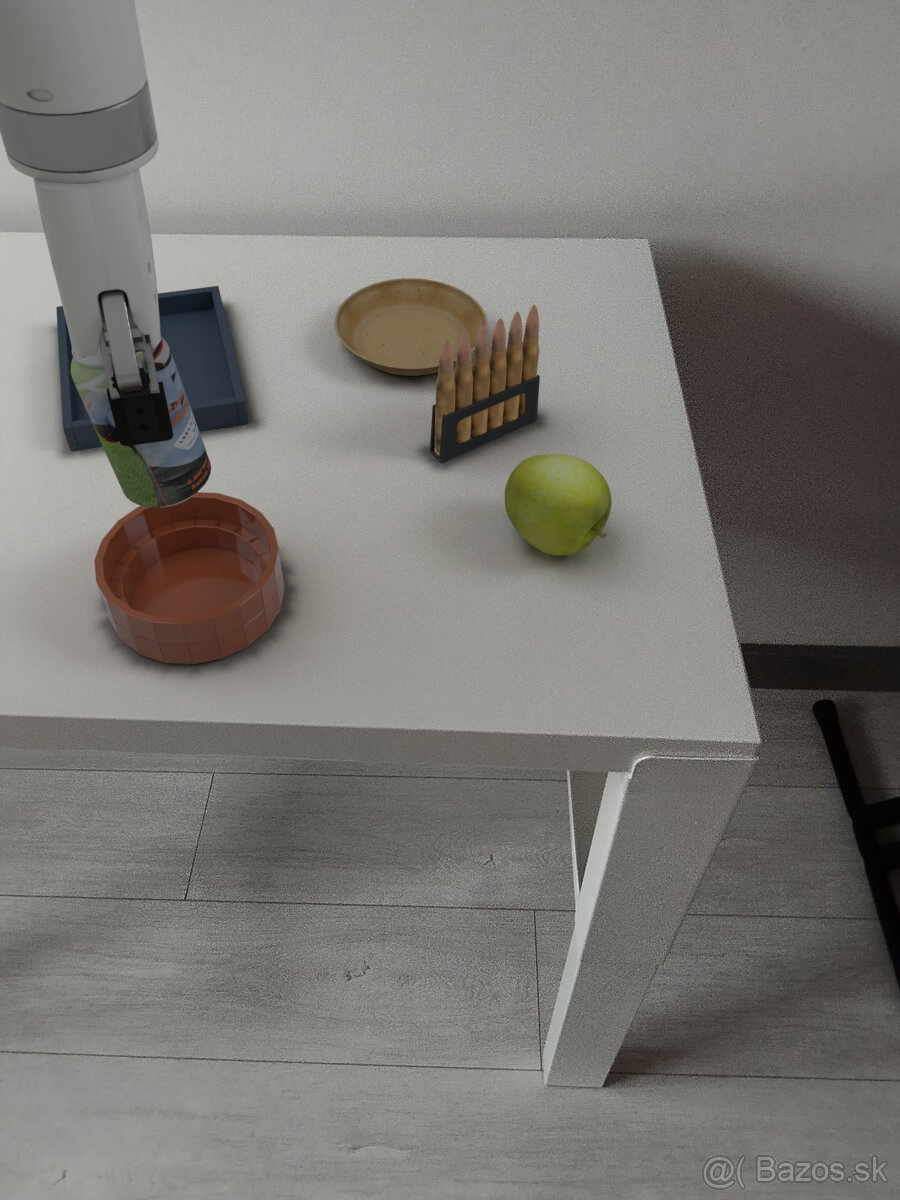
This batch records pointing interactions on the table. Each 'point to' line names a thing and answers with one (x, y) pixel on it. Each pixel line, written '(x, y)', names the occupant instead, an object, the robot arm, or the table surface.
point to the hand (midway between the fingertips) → (142, 403)
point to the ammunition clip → (486, 388)
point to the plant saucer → (407, 324)
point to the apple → (558, 503)
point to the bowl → (191, 578)
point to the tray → (198, 355)
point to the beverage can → (151, 467)
